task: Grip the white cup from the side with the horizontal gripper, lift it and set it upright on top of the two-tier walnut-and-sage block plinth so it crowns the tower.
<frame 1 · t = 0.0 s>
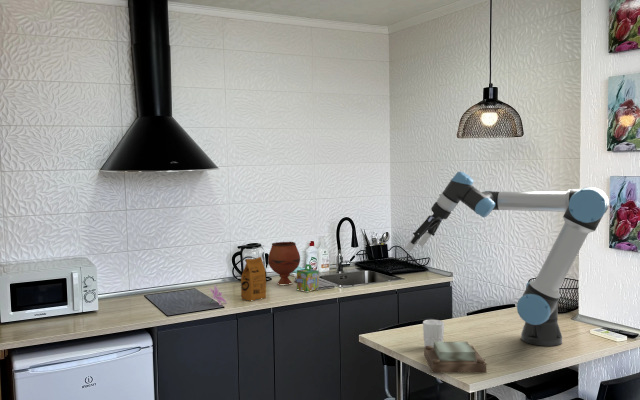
hand: (414, 247, 240), 36 cm above the table, tool tilted 35°, fingers open, 13 cm apart
colorful lantern: (307, 290, 330), on the table
plinth: (453, 363, 203), on the table
goblet: (284, 284, 349), on the table
coffee package: (253, 299, 310), on the table
white cup: (433, 348, 221), on the table
lily: (217, 305, 297), on the table
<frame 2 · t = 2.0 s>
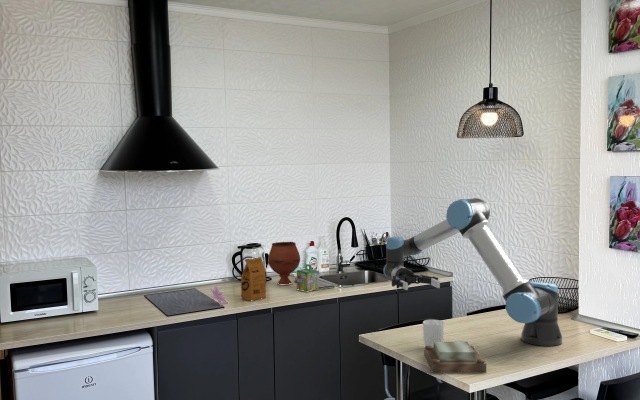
hand: (423, 285, 229), 22 cm above the table, tool horizontal, fingers open, 13 cm apart
nothing on the table moved.
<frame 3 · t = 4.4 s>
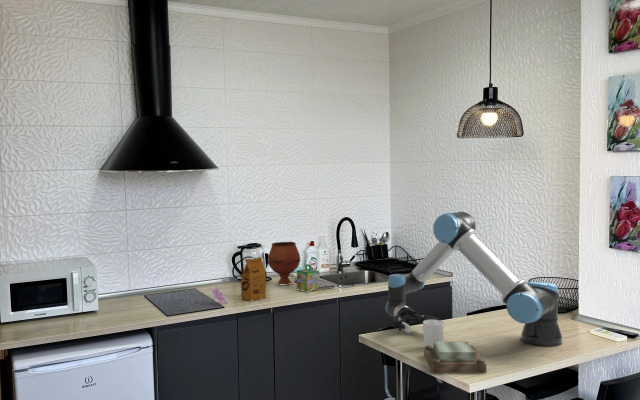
hand: (425, 328, 227), 6 cm above the table, tool horizontal, fingers open, 13 cm apart
nothing on the table moved.
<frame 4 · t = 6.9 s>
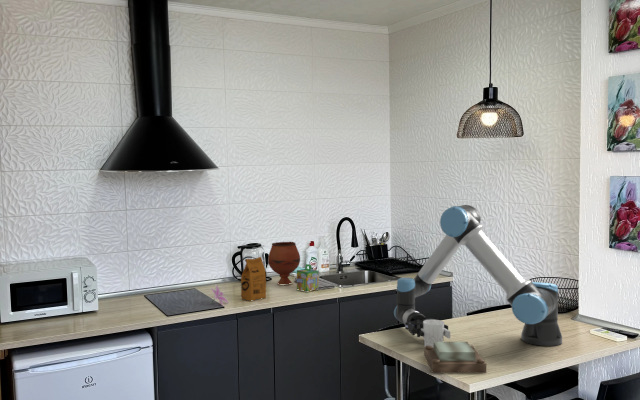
hand: (439, 335, 216), 6 cm above the table, tool horizontal, fingers closed on white cup, 8 cm apart
white cup: (433, 348, 221), on the table, touching gripper
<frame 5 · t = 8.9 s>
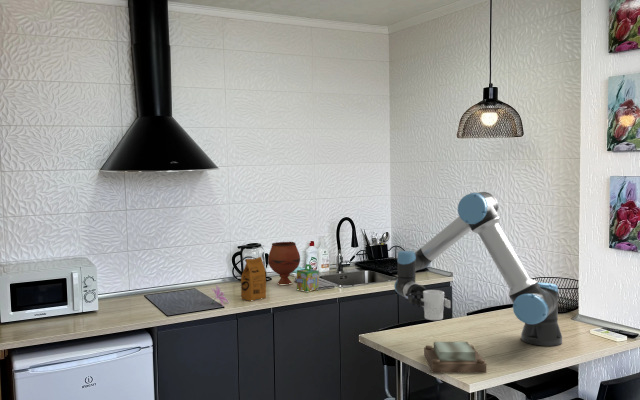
hand: (439, 305, 214), 18 cm above the table, tool horizontal, fingers closed on white cup, 8 cm apart
white cup: (433, 318, 219), point 12 cm above the table, touching gripper
when the fingers open (13 cm above the table, at t = 11.4 s): white cup drops 1 cm, resting on plinth.
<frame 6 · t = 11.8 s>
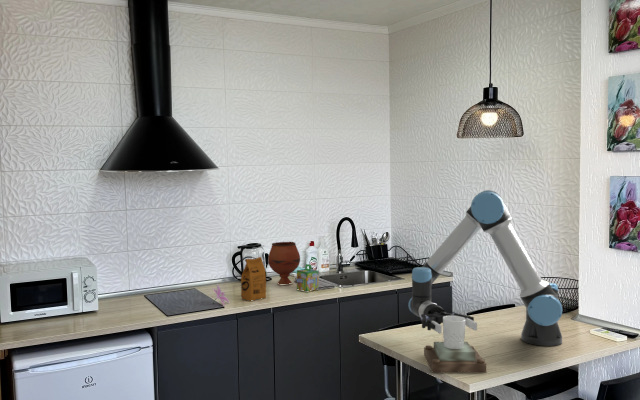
hand: (458, 328, 199), 13 cm above the table, tool horizontal, fingers open, 13 cm apart
white cup: (453, 347, 203), point 6 cm above the table, touching plinth
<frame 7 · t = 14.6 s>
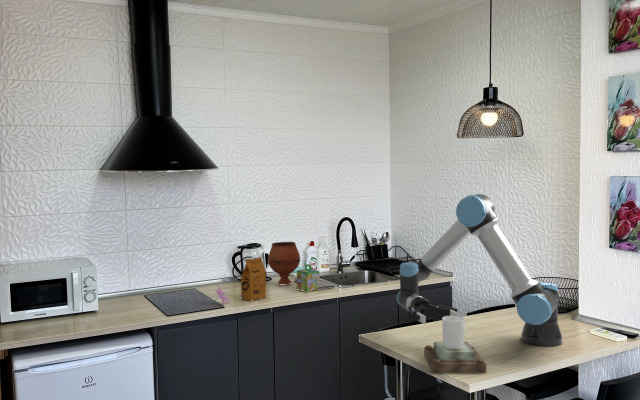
hand: (442, 318, 211), 14 cm above the table, tool horizontal, fingers open, 13 cm apart
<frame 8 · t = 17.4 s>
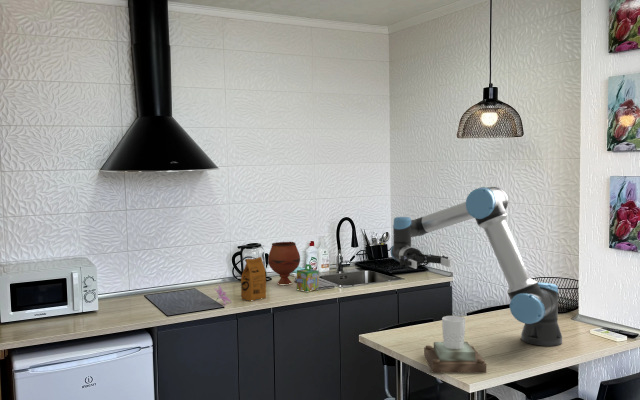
hand: (432, 264, 220), 32 cm above the table, tool horizontal, fingers open, 13 cm apart
at the end: white cup inside the target area on the plinth (0.1 cm from its centre), point 5.8 cm above the plinth's base; white cup tilted 0°; the gripper is holding nothing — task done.
